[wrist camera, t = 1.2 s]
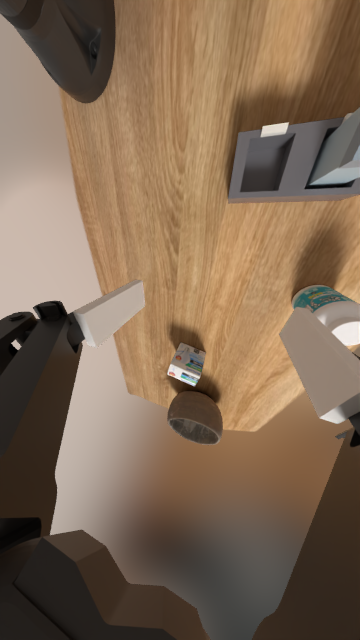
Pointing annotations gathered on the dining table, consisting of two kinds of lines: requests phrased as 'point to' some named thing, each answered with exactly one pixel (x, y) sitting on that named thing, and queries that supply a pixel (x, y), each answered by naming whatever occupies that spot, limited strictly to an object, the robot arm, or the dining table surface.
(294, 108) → the dining table surface
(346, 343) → the pill bottle
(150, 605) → the robot arm
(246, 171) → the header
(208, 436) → the bowl
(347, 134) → the plug
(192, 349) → the light bulb box
